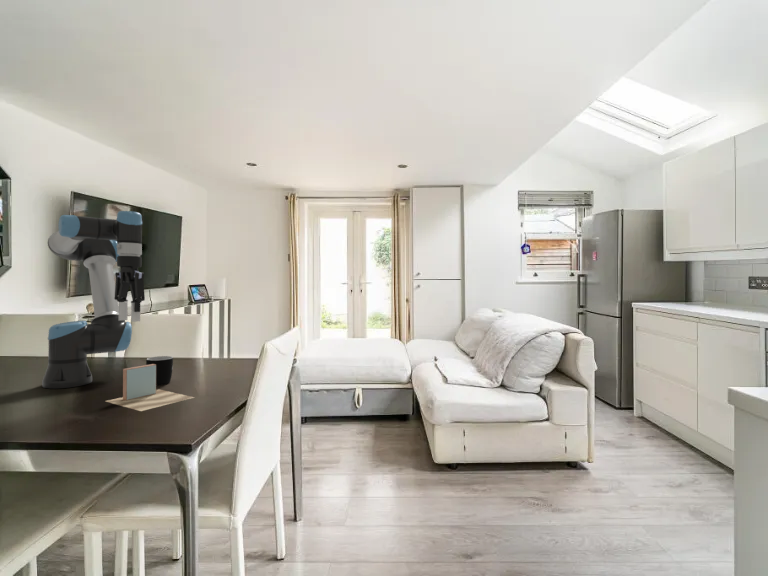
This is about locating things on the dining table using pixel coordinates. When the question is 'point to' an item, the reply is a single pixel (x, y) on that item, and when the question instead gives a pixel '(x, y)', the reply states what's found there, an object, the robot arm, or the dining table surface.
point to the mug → (162, 368)
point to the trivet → (151, 400)
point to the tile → (139, 381)
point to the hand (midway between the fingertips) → (129, 320)
